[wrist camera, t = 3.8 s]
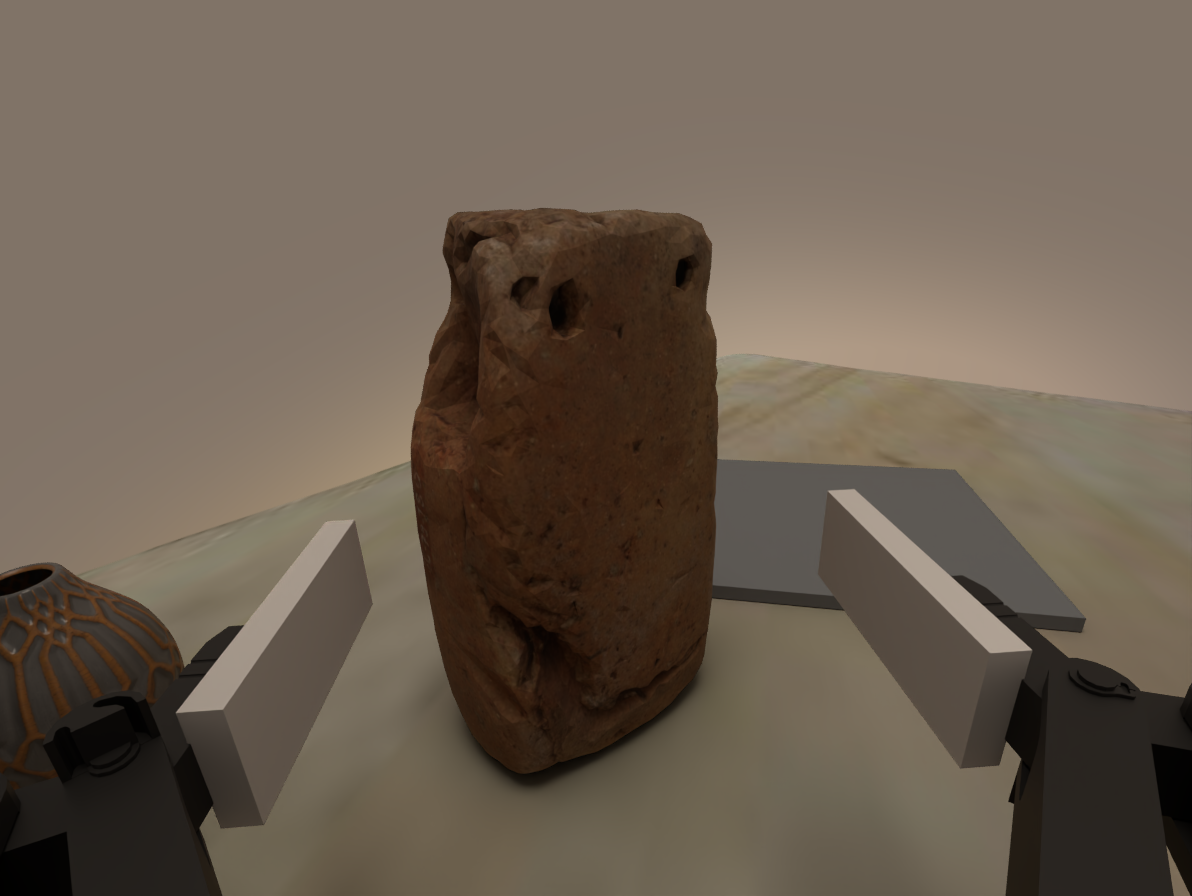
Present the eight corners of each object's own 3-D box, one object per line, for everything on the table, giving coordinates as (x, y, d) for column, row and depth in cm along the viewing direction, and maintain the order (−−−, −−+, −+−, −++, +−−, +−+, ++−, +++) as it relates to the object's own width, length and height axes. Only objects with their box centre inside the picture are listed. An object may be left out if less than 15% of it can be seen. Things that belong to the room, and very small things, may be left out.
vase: (-42, 796, 22) (-159, 605, 19) (159, 680, 28) (94, 516, 25) (25, 892, 19) (-104, 679, 16) (239, 738, 24) (175, 557, 21)
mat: (704, 596, 32) (705, 584, 32) (713, 468, 48) (714, 459, 48) (1081, 632, 28) (1086, 618, 28) (953, 479, 45) (955, 469, 44)
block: (617, 604, 32) (604, 208, 24) (727, 679, 26) (753, 198, 19) (431, 708, 25) (340, 215, 18) (527, 835, 20) (451, 202, 13)
